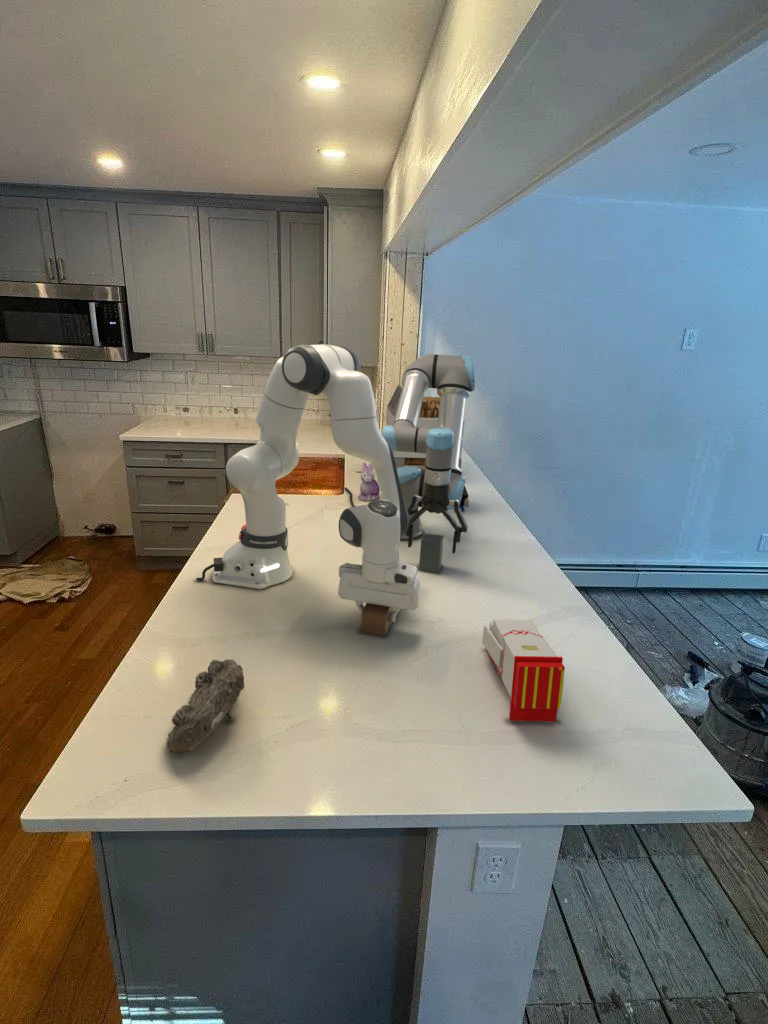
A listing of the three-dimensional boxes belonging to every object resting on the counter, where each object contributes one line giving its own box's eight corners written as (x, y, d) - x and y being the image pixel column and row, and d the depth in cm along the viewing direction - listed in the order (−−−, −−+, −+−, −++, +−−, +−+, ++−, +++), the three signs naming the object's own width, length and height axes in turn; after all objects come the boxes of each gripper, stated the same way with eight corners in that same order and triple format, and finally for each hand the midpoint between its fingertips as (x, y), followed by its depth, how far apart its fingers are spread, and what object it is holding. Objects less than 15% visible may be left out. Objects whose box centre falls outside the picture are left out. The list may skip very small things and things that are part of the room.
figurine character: (468, 516, 224) (463, 500, 237) (471, 498, 221) (465, 483, 234) (452, 515, 224) (447, 499, 237) (453, 498, 220) (449, 482, 234)
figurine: (364, 502, 230) (365, 466, 225) (353, 495, 238) (354, 460, 233) (384, 500, 234) (386, 464, 229) (373, 492, 242) (375, 458, 237)
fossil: (192, 660, 117) (244, 628, 112) (224, 691, 120) (276, 661, 115) (142, 746, 98) (202, 712, 93) (182, 779, 101) (242, 748, 96)
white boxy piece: (382, 463, 289) (386, 382, 275) (445, 464, 293) (451, 384, 279) (390, 482, 257) (394, 392, 243) (460, 483, 261) (468, 394, 247)
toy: (529, 604, 135) (573, 663, 106) (524, 656, 138) (566, 727, 109) (478, 603, 135) (509, 662, 105) (474, 655, 137) (503, 727, 108)
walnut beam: (390, 579, 166) (391, 561, 164) (410, 582, 165) (411, 564, 163) (361, 632, 138) (361, 610, 136) (384, 636, 137) (386, 614, 135)
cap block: (422, 562, 178) (424, 532, 175) (441, 565, 177) (443, 535, 174) (418, 570, 173) (421, 540, 169) (438, 573, 171) (440, 542, 168)
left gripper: (334, 567, 136) (334, 617, 140) (418, 579, 131) (415, 631, 136) (343, 556, 141) (342, 605, 146) (423, 568, 137) (420, 618, 141)
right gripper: (392, 481, 165) (389, 547, 173) (478, 491, 160) (471, 559, 167) (398, 474, 172) (395, 538, 179) (481, 483, 166) (474, 549, 174)
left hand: (377, 618), depth 141 cm, fingers closed on walnut beam, 6 cm apart
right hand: (431, 548), depth 173 cm, fingers open, 13 cm apart
